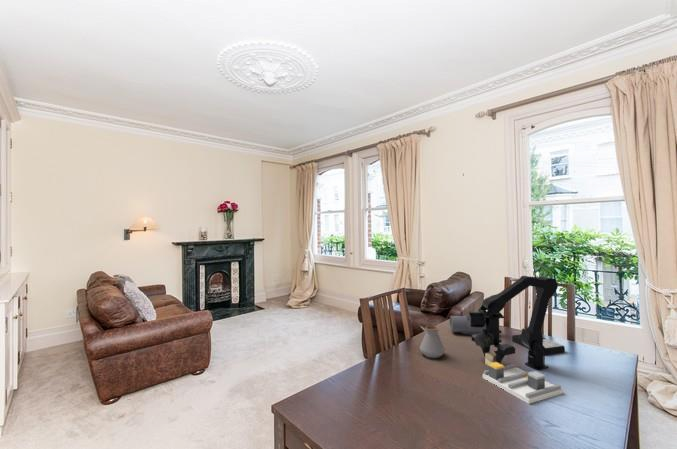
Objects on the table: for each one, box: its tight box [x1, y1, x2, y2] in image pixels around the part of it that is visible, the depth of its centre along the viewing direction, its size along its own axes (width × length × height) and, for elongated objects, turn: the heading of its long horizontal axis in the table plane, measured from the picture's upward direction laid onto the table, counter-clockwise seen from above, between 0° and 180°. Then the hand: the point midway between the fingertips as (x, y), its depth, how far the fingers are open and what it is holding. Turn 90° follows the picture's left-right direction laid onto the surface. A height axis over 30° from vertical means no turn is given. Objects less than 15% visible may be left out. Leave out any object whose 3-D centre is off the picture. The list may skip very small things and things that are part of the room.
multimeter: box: [511, 333, 566, 356], centre depth 159 cm, size 13×19×5 cm
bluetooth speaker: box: [449, 315, 485, 336], centre depth 178 cm, size 23×9×10 cm, turn 81°
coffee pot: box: [408, 315, 446, 359], centre depth 154 cm, size 21×12×15 cm, turn 29°
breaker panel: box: [482, 363, 564, 405], centre depth 121 cm, size 18×20×3 cm
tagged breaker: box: [487, 362, 505, 380], centre depth 124 cm, size 4×4×5 cm
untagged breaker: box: [528, 370, 546, 390], centre depth 116 cm, size 4×4×5 cm
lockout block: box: [484, 351, 496, 366], centre depth 138 cm, size 4×4×5 cm
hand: (492, 362), depth 138 cm, fingers open, 6 cm apart
